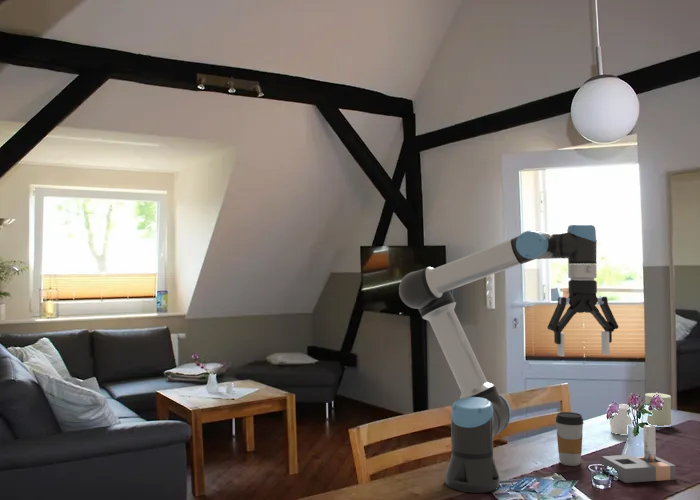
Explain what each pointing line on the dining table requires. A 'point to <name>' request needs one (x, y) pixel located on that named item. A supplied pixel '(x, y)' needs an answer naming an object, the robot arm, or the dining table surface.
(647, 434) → the pin
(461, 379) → the robot arm
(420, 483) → the dining table surface
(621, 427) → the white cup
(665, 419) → the can
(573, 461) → the coffee cup
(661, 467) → the mount block
